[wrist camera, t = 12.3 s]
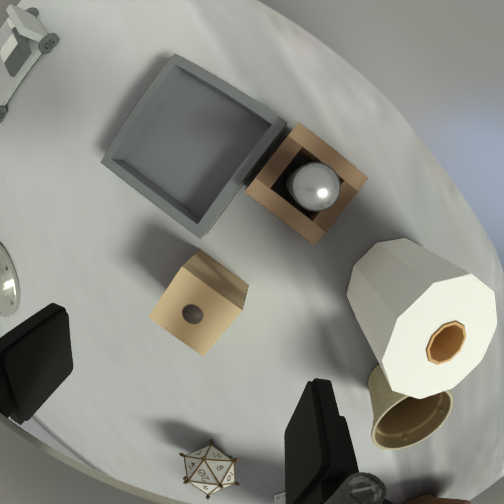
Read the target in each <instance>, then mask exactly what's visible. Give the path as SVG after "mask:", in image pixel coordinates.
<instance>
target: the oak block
mask: <svg viewBox="0 0 504 504" xmlns="http://www.w3.org/2000/svg"><path fill="white" fill-rule="evenodd" d="M248 287H249V285H248V284H247V283H245V282H244V281H243V280H241V279H240V278H239V277H237V276H236V275H234V274H233V273H232V272H230V271H229V270H228V269H226V268H225V267H224V266H222V265H221V264H220V263H218V262H217V261H215V260H214V259H213V258H211V257H210V256H209V255H207V254H206V253H205V252H203V251H202V250H201V249H200V250H199V251H198V252H196V253H195V254H194V255H193V256H192V257H191V258H190V259H189V260H188V261H187V262H186V263H185V264H184V265H183V266H182V267H181V268H180V270H179V271H178V273H177V274H176V276H175V277H174V279H173V280H172V282H171V283H170V285H169V286H168V288H167V289H166V291H165V292H164V294H163V295H162V297H161V298H160V300H159V302H158V303H157V305H156V306H155V308H154V309H153V311H152V312H151V314H150V315H149V318H150V319H152V320H153V321H154V322H156V323H157V324H158V325H160V326H161V327H163V328H164V329H165V330H167V331H168V332H169V333H171V334H172V335H174V336H175V337H176V338H178V339H179V340H181V341H182V342H183V343H185V344H186V345H188V346H189V347H191V348H192V349H194V350H195V351H196V352H198V353H199V354H201V355H202V356H204V355H205V354H206V353H207V352H208V350H209V349H210V348H211V347H212V346H213V345H214V343H215V342H216V341H217V340H218V339H219V337H220V336H221V335H222V334H223V333H224V332H225V330H226V329H227V328H228V327H229V326H230V325H231V323H232V322H233V321H234V320H235V319H236V317H237V316H238V315H239V314H240V313H241V311H242V310H243V306H244V302H245V299H246V295H247V291H248Z"/></svg>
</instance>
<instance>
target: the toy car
mask: <svg viewBox="0 0 504 504" xmlns="http://www.w3.org/2000/svg"><path fill="white" fill-rule="evenodd" d="M6 11H7V12H8V14H9V16H10V17H9V18H8V19H7V22H8V25H9V27H10V29H11V31H12V34H11V36H10V37H9V39H8V40H7V41H6V43H5V44H4V46H3V47H2V48H1V50H0V123H1V122H2V121H3V119H4V117H5V116H6V114H7V112H8V109H7V107H6V104H7V102H8V101H9V99H10V98H11V96H12V94H13V93H14V91H15V90H16V88H17V87H18V85H19V84H20V82H21V81H22V79H23V78H24V77H25V75H26V74H27V72H28V71H29V70H30V68H31V67H32V66H33V64H34V63H35V62H36V60H37V59H38V58H39V56H40V55H41V54H42V53H43V54H46V53H50V52H51V51H52V49H53V48H54V47H55V46H56V45H57V43H58V42H59V37H58V36H57V35H56V34H54V33H51V34H47V32H46V31H45V30H44V28H43V27H42V25H41V24H40V23H39V21H38V20H37V19H36V17H37V16H38V14H39V12H38V10H37V9H36V8H29V9H27V10H26V11H24V10H22V9H20V8H18V7H16V6H14V5H12V4H10V5H9V6H8V8H7V9H6Z"/></svg>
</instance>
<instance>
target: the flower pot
mask: <svg viewBox="0 0 504 504" xmlns="http://www.w3.org/2000/svg"><path fill="white" fill-rule="evenodd" d="M368 387H369V391H370V397H371V403H372V409H373V415H374V419H373V427H372V431H371V437H372V441H373V443H374V444H375V445H376V446H377V447H379V448H381V449H385V450H397V449H403V448H407V447H410V446H412V445H415V444H417V443H419V442H421V441H423V440H424V439H426V438H428V437H429V436H430V435H432V434H433V433H434V432H435V431H436V430H438V429H439V428H440V427H441V426H442V424H443V423H444V422H445V421H446V419H447V418H448V416H449V414H450V412H451V409H452V406H453V396H452V394H451V392H450V391H449V390H446V391H443V392H440V393H437V394H434V395H431V396H428V397H425V398H422V399H417V398H414V397H411V396H408V395H405V394H401V393H398V392H395V391H392V389H391V387H390V385H389V383H388V381H387V379H386V377H385V375H384V373H383V370H382V368H381V366H380V364H379V365H377V366H376V367H375V368H374V370H373V371H372V372H371V374H370V376H369V380H368Z"/></svg>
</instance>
